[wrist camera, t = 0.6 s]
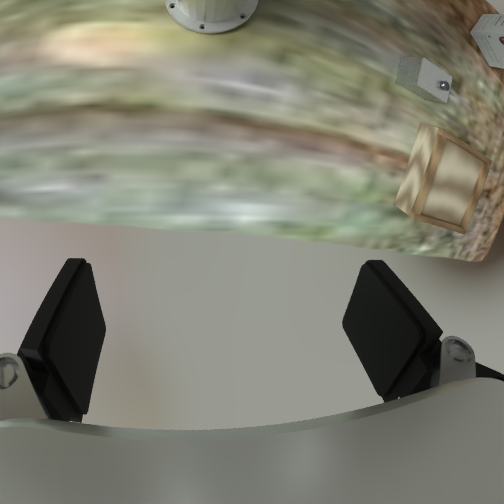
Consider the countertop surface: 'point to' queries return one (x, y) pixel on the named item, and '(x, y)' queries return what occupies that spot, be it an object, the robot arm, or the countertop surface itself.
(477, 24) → the supplement box
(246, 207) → the countertop surface
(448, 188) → the tray
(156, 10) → the countertop surface
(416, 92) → the block
